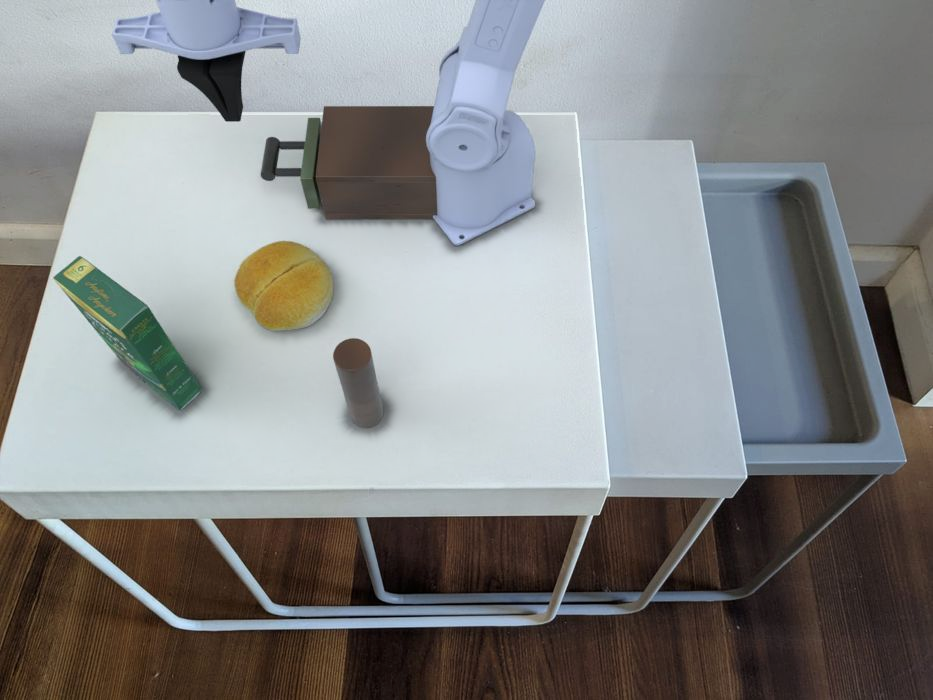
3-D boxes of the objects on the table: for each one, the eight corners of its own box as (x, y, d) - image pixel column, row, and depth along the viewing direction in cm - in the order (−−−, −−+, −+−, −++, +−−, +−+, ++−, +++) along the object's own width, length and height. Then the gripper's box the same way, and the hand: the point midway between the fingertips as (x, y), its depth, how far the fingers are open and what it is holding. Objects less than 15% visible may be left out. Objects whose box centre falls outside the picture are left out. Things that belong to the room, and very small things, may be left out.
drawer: (264, 209, 75) (254, 178, 71) (274, 149, 79) (264, 117, 75) (415, 208, 75) (413, 178, 72) (417, 148, 79) (415, 117, 76)
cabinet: (325, 219, 76) (315, 176, 70) (332, 151, 80) (323, 105, 75) (443, 219, 76) (442, 176, 71) (444, 150, 80) (443, 105, 75)
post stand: (373, 392, 66) (359, 331, 57) (389, 417, 65) (378, 359, 56) (344, 408, 66) (326, 349, 57) (360, 434, 64) (344, 377, 56)
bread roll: (280, 350, 68) (270, 327, 65) (226, 287, 72) (214, 261, 68) (355, 300, 71) (349, 275, 68) (299, 241, 74) (291, 214, 71)
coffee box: (117, 362, 68) (47, 275, 56) (142, 339, 69) (79, 250, 57) (179, 413, 65) (119, 334, 54) (204, 390, 66) (151, 306, 55)
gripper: (290, -57, 60) (318, 82, 72) (102, -57, 60) (161, 82, 72) (280, 2, 57) (311, 138, 68) (81, 2, 56) (147, 138, 68)
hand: (234, 113), depth 70 cm, fingers closed
